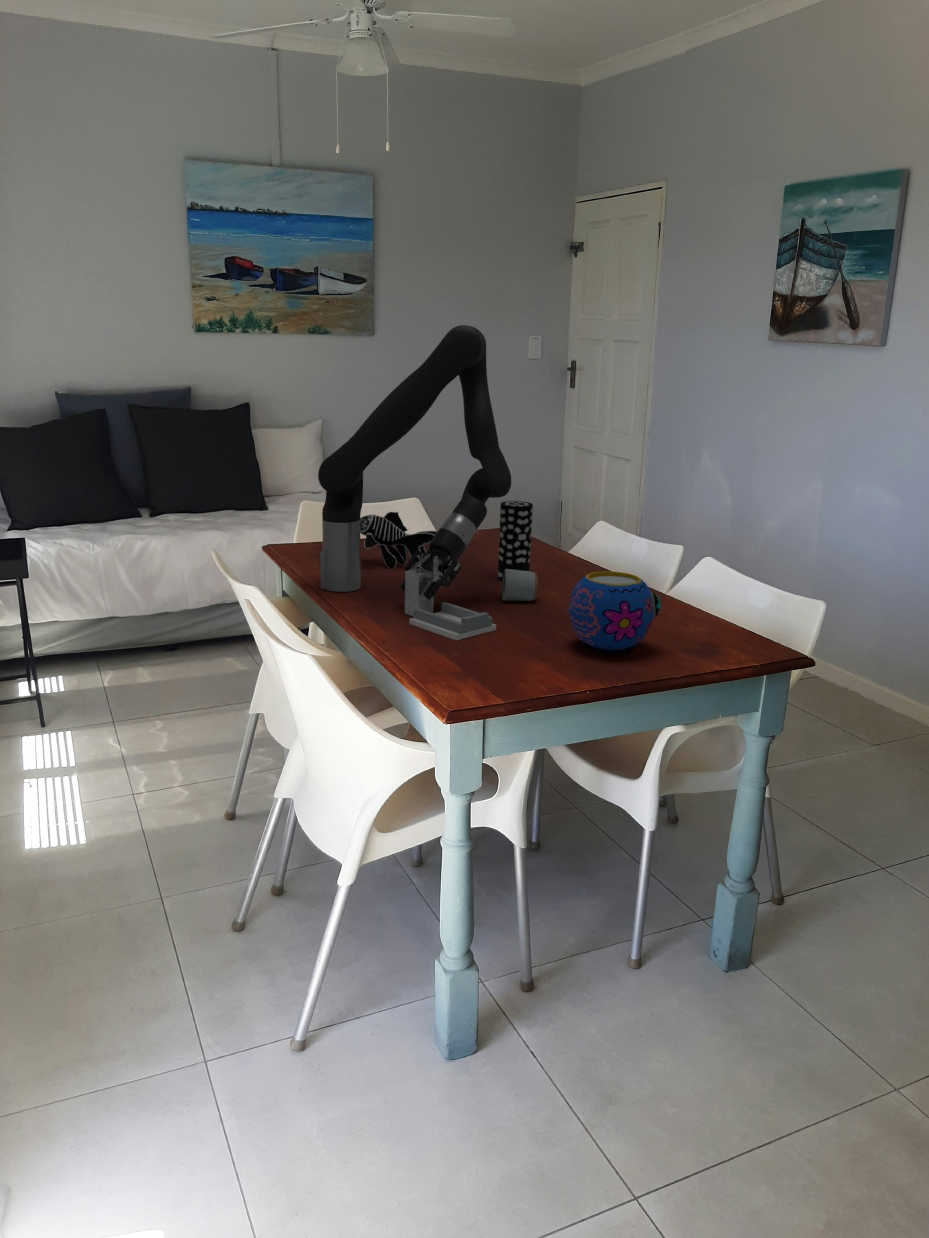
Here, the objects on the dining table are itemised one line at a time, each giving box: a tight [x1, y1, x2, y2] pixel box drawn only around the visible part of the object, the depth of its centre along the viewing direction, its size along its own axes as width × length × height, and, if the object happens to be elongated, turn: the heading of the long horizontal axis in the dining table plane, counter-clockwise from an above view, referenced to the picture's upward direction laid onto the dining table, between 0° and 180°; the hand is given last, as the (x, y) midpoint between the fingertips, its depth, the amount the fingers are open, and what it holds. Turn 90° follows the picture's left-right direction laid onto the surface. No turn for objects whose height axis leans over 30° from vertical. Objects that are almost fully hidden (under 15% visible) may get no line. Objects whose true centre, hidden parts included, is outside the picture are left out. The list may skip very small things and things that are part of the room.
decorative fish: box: [360, 511, 438, 570], centre depth 262 cm, size 16×26×15 cm, turn 65°
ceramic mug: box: [501, 569, 539, 602], centre depth 236 cm, size 11×8×8 cm
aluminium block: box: [404, 568, 435, 618], centre depth 220 cm, size 5×5×10 cm
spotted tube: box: [496, 500, 534, 582], centre depth 252 cm, size 8×8×20 cm
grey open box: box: [408, 601, 497, 641], centre depth 212 cm, size 15×12×4 cm
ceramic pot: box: [568, 570, 662, 652], centre depth 200 cm, size 18×18×15 cm
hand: (414, 593), depth 219 cm, fingers open, 7 cm apart
